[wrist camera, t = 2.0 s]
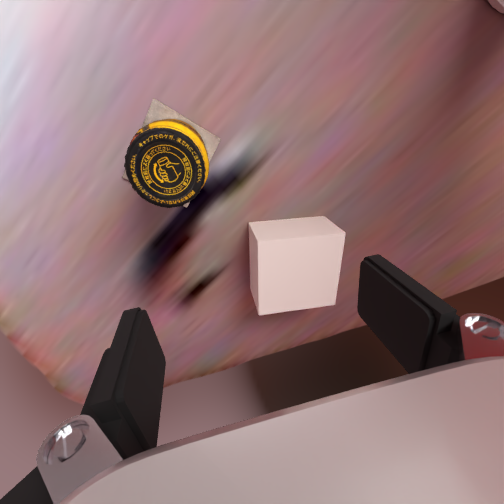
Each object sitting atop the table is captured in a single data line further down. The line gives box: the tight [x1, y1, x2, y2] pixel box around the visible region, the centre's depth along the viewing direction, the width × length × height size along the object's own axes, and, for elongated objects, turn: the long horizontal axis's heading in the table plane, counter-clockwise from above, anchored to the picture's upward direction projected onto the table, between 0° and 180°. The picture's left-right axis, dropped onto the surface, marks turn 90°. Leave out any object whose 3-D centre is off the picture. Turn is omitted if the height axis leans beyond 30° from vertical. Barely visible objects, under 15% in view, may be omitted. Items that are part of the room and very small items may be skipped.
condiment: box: [122, 98, 221, 208], centre depth 23 cm, size 7×8×12 cm
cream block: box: [248, 216, 346, 315], centre depth 34 cm, size 10×10×6 cm
